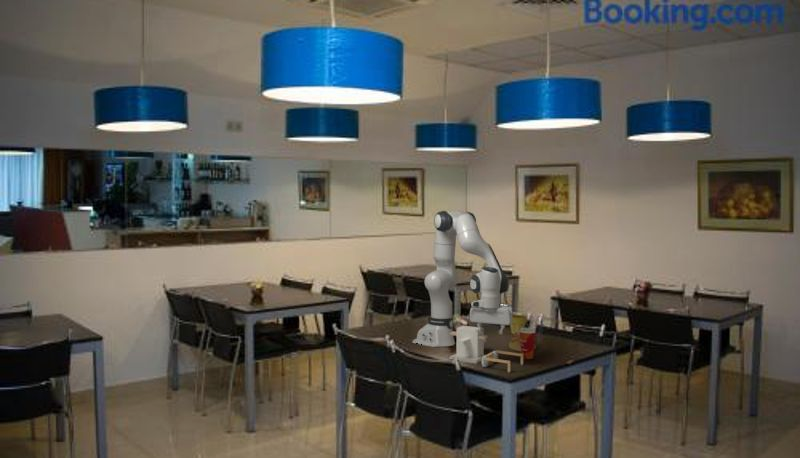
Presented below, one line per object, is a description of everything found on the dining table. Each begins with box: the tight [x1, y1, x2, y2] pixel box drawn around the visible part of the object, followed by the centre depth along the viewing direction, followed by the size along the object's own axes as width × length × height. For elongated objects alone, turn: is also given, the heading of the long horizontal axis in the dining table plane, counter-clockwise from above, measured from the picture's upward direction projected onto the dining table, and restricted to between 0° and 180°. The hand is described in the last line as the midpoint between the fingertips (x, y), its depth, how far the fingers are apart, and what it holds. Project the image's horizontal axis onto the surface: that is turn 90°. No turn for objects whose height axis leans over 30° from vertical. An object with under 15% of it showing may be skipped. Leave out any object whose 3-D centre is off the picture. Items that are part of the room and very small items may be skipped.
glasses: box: [481, 350, 524, 373], centre depth 302 cm, size 16×14×5 cm
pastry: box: [508, 332, 537, 352], centre depth 339 cm, size 13×15×8 cm
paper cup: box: [519, 327, 536, 360], centre depth 318 cm, size 8×8×14 cm
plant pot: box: [509, 314, 528, 335], centre depth 374 cm, size 10×10×10 cm
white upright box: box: [448, 325, 489, 364], centre depth 314 cm, size 18×14×14 cm
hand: (491, 333), depth 304 cm, fingers open, 8 cm apart
